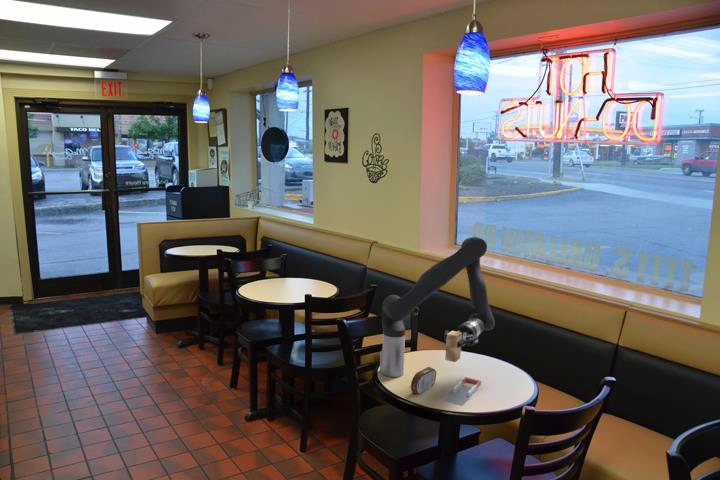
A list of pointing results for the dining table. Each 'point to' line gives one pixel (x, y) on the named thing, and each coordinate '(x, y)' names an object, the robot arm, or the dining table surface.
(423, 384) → the tin
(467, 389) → the long grey tray
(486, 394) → the dining table surface
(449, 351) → the oak block
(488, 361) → the dining table surface
